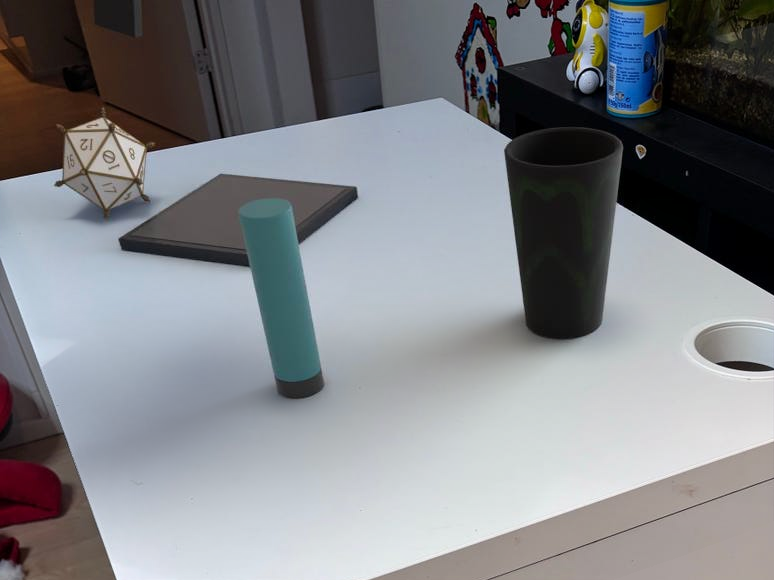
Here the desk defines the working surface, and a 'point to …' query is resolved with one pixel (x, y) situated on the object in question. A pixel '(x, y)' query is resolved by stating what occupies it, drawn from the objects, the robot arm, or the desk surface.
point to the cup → (563, 225)
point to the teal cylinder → (282, 295)
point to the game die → (103, 163)
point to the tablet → (232, 217)
